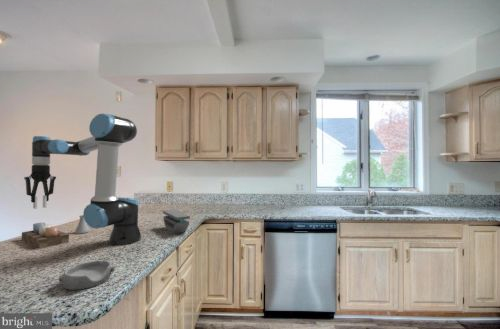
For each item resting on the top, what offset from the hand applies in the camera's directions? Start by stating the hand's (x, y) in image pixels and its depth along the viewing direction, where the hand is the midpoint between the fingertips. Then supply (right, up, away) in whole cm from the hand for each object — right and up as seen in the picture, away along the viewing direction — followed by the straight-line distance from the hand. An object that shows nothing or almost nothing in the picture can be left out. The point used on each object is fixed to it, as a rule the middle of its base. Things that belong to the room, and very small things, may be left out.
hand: (39, 207), depth 132 cm
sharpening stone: (+67, -18, +20) cm, 73 cm away
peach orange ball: (+13, -14, -9) cm, 21 cm away
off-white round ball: (+7, -14, -4) cm, 16 cm away
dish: (+57, -17, -48) cm, 77 cm away
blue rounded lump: (0, -14, 0) cm, 14 cm away
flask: (+14, -17, +13) cm, 26 cm away
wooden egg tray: (+6, -17, -4) cm, 18 cm away
